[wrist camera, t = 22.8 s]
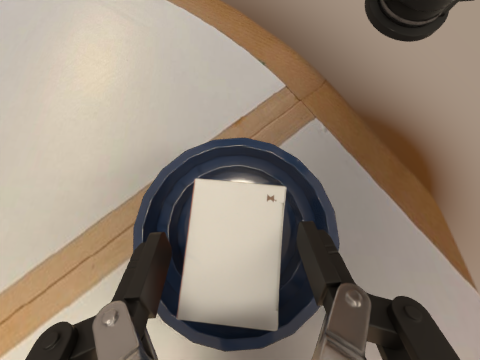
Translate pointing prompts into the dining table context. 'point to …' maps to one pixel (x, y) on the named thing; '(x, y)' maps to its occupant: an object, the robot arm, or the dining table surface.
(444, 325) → the dining table surface
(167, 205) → the glazed bowl
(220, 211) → the small box
